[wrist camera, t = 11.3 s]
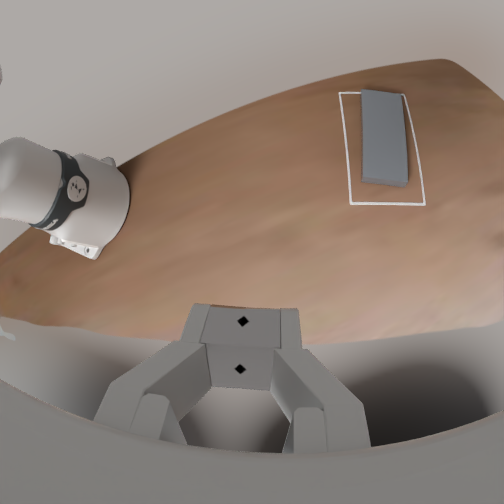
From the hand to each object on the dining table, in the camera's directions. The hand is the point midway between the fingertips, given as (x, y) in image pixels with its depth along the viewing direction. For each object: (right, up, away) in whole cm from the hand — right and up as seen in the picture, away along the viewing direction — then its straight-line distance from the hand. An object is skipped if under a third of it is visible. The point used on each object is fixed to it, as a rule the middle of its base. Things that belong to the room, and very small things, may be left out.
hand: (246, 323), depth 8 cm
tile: (+17, +11, +25) cm, 32 cm away
